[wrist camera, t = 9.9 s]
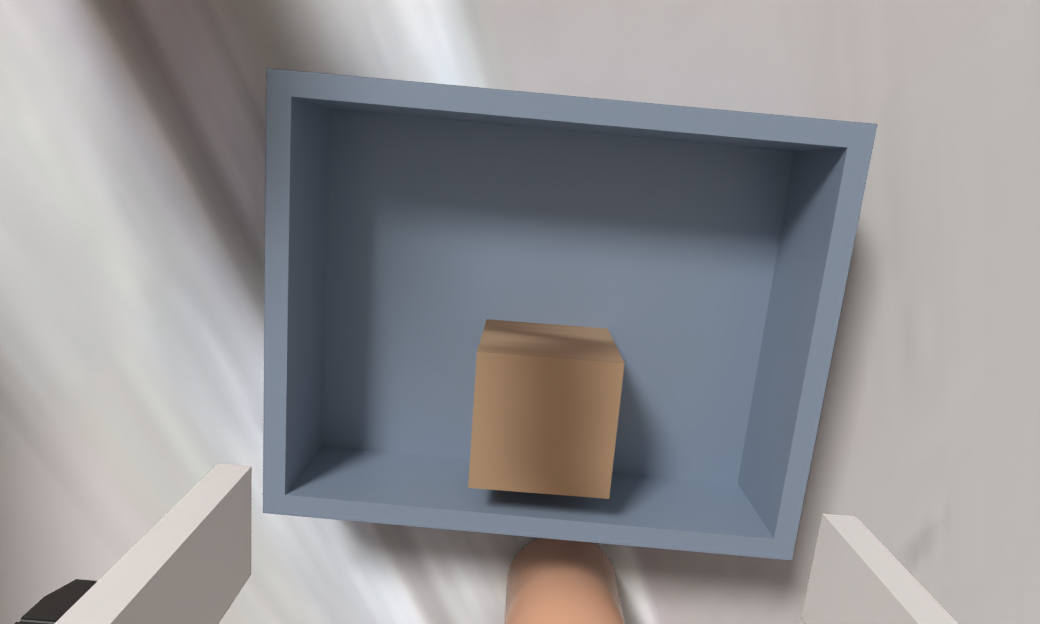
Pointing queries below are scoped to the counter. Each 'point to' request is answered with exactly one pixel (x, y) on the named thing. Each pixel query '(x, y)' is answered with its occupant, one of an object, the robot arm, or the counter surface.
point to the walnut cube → (545, 409)
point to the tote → (550, 300)
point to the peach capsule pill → (562, 585)
